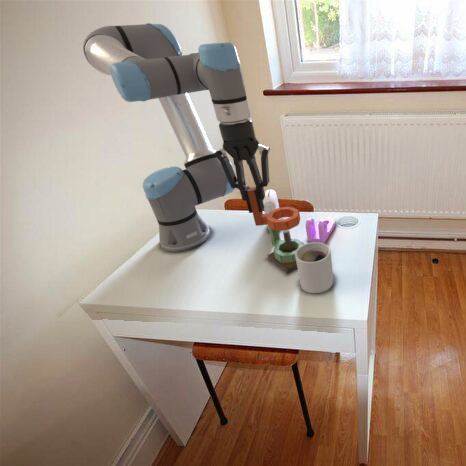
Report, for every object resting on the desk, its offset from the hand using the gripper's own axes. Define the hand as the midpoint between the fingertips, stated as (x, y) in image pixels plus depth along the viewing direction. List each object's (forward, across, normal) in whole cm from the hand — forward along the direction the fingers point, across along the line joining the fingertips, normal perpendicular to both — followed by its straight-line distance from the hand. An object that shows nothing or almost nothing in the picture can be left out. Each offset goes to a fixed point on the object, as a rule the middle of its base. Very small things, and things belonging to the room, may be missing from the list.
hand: (256, 210), depth 87 cm
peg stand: (+17, +7, 0) cm, 18 cm away
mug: (+17, +16, -10) cm, 25 cm away
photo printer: (+17, -2, +20) cm, 26 cm away
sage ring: (+15, +5, +1) cm, 16 cm away
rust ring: (+4, +5, 0) cm, 7 cm away
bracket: (+17, +15, +14) cm, 27 cm away
